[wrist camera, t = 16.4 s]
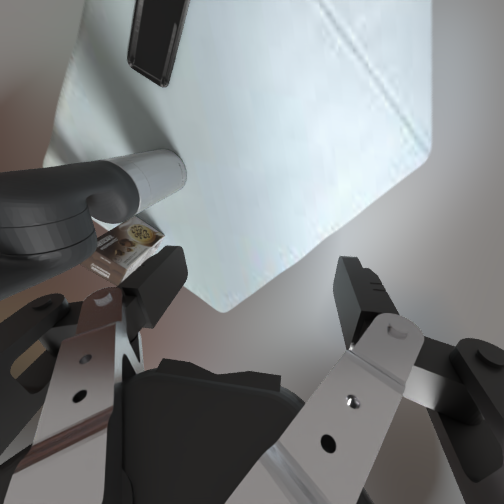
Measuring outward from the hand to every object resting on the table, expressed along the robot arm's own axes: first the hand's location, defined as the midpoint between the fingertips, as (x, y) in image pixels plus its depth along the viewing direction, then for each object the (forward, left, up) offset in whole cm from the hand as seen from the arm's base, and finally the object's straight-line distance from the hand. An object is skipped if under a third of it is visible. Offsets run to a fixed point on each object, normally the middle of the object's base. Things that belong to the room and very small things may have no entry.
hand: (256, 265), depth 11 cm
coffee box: (-36, -18, -38) cm, 56 cm away
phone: (-22, +21, -39) cm, 49 cm away
